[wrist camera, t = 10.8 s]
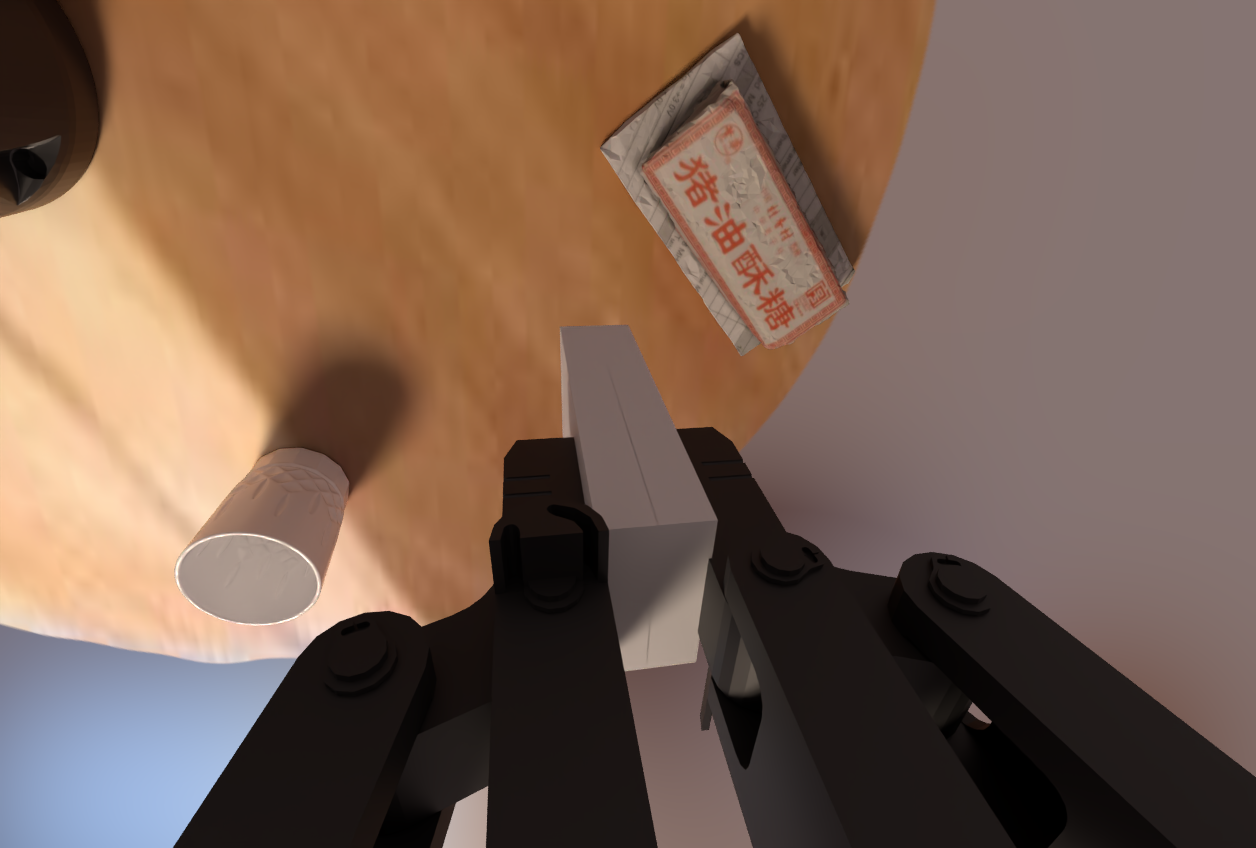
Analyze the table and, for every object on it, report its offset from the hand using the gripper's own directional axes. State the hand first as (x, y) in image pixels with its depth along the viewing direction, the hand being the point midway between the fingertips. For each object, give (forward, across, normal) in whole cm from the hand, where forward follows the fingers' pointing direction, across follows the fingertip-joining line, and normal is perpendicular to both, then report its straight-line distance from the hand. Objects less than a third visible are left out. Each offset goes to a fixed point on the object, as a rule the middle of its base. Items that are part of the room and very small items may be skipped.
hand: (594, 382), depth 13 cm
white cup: (+27, -19, -21) cm, 39 cm away
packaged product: (+27, +13, -1) cm, 30 cm away
